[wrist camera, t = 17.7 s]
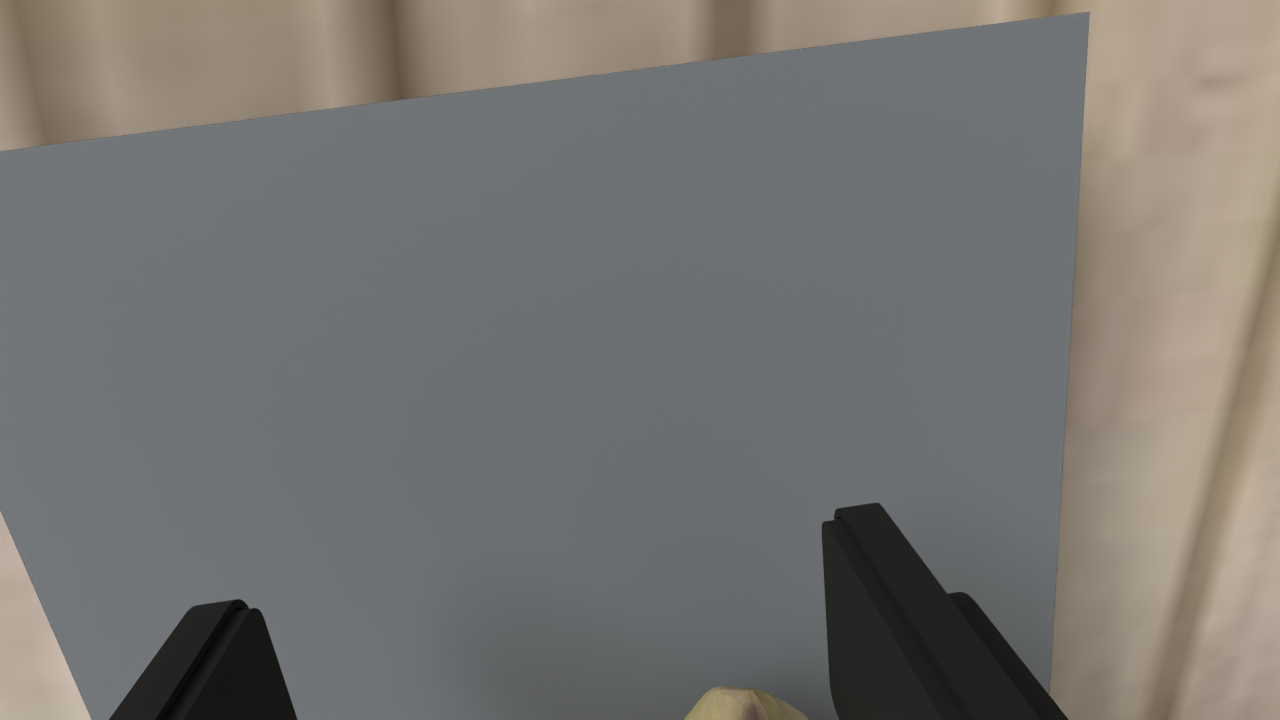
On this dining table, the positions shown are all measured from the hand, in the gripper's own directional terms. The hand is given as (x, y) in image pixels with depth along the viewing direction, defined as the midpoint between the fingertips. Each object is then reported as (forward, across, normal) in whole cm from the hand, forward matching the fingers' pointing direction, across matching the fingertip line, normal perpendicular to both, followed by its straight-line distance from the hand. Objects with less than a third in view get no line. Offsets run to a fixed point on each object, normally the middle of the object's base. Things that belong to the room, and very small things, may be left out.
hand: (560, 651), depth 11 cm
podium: (+8, 0, 0) cm, 8 cm away
